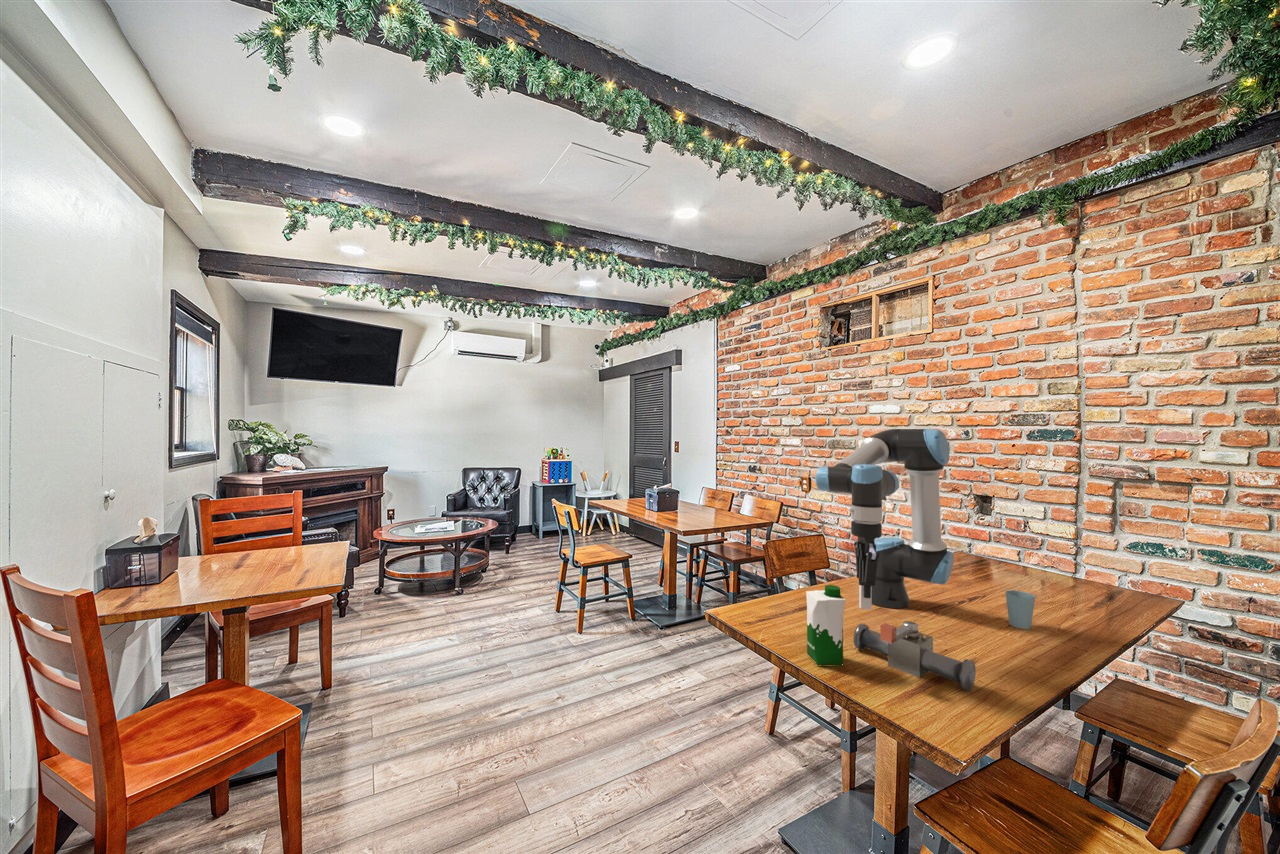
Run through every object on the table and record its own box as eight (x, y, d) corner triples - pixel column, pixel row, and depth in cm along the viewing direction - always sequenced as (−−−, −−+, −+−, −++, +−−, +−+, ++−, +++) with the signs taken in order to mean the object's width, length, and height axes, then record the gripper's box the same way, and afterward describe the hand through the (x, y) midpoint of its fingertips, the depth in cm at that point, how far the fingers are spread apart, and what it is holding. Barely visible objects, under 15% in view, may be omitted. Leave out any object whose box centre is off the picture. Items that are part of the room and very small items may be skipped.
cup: (1040, 628, 155) (1040, 596, 155) (1026, 632, 152) (1026, 599, 152) (1014, 619, 162) (1014, 589, 162) (1000, 623, 159) (1000, 591, 159)
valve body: (852, 651, 138) (852, 617, 138) (866, 644, 142) (866, 611, 142) (963, 695, 115) (964, 654, 115) (976, 684, 120) (976, 645, 120)
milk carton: (848, 667, 128) (849, 592, 128) (815, 668, 128) (816, 593, 128) (832, 652, 137) (833, 582, 137) (802, 653, 136) (802, 582, 136)
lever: (906, 626, 131) (906, 611, 131) (920, 631, 128) (920, 615, 128) (878, 641, 122) (878, 624, 122) (893, 646, 119) (893, 629, 119)
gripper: (844, 516, 137) (843, 599, 137) (859, 525, 124) (858, 616, 124) (872, 517, 136) (871, 600, 136) (890, 526, 123) (889, 618, 123)
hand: (865, 608), depth 130 cm, fingers closed
